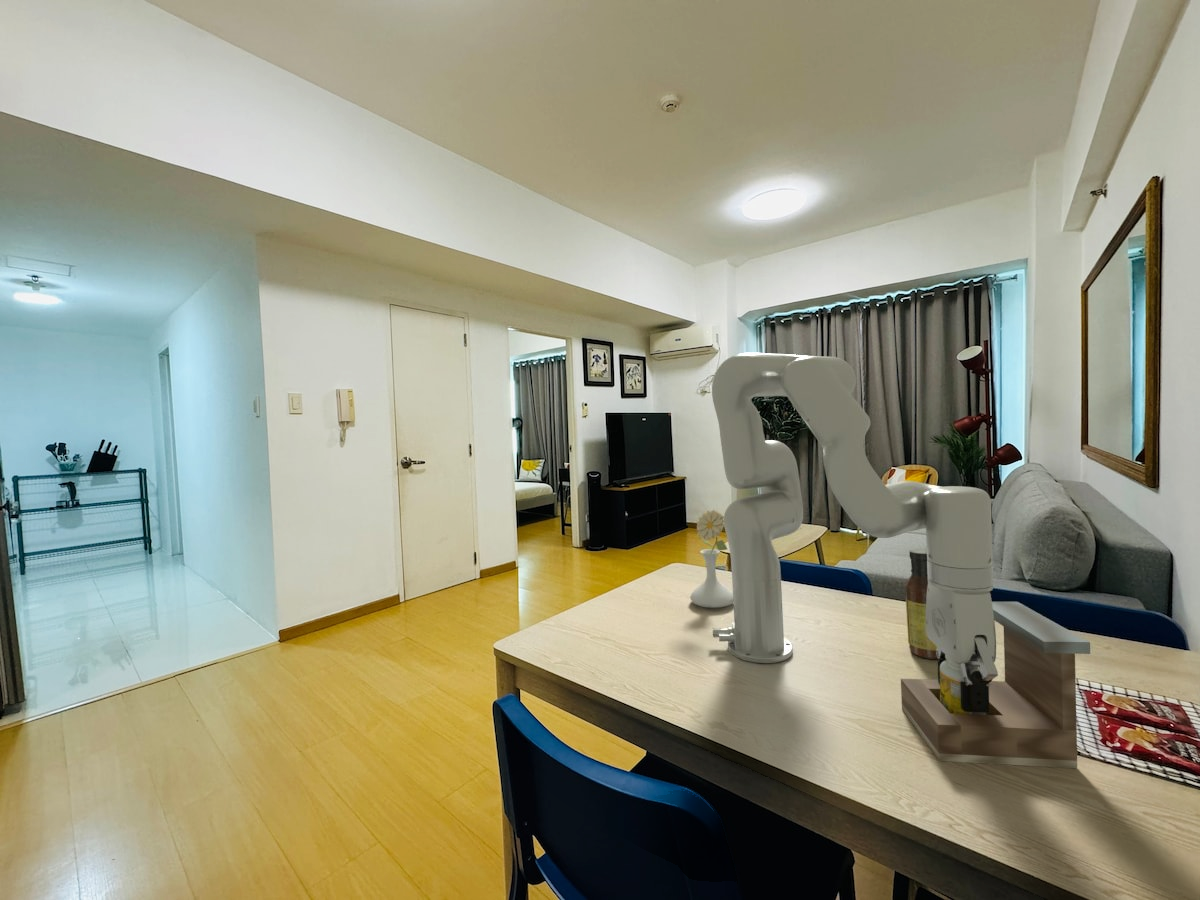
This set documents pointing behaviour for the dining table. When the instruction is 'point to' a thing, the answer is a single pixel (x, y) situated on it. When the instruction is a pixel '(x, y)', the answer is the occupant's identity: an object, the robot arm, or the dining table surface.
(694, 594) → the flower in vase
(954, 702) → the supplement bottle
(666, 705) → the dining table surface
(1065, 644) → the socket block
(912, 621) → the sauce bottle
